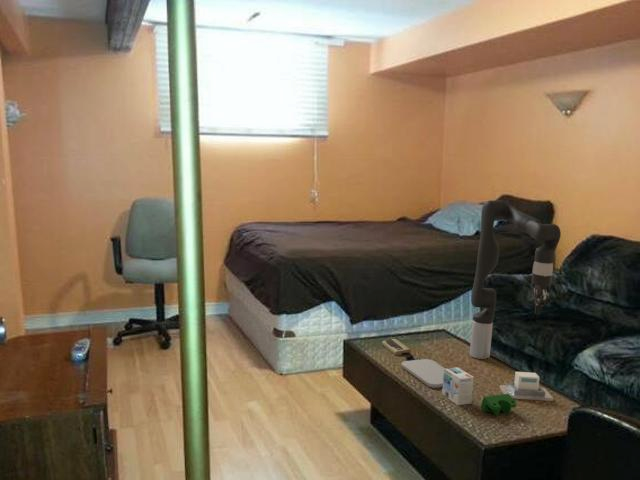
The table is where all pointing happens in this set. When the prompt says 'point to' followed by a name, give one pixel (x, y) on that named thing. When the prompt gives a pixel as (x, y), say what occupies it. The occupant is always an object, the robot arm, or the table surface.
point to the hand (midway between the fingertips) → (537, 314)
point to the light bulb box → (457, 386)
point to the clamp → (498, 404)
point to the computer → (396, 347)
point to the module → (526, 381)
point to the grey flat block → (526, 393)
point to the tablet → (426, 371)
